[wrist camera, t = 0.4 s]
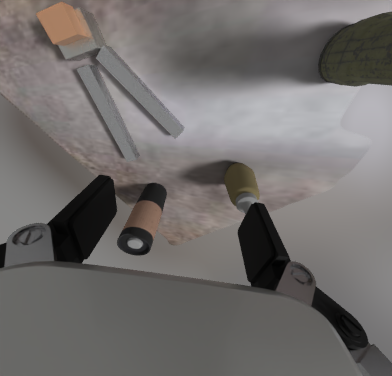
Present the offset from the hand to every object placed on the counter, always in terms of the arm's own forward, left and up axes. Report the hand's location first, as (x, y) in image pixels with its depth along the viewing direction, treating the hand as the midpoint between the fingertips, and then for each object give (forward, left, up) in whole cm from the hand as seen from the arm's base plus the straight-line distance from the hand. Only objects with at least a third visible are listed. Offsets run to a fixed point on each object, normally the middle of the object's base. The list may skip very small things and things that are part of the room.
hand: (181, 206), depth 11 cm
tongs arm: (-5, -10, -33) cm, 35 cm away
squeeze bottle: (+18, +7, -33) cm, 38 cm away
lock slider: (-18, -18, -28) cm, 38 cm away
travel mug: (+20, -19, -33) cm, 43 cm away
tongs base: (-6, -18, -33) cm, 38 cm away
